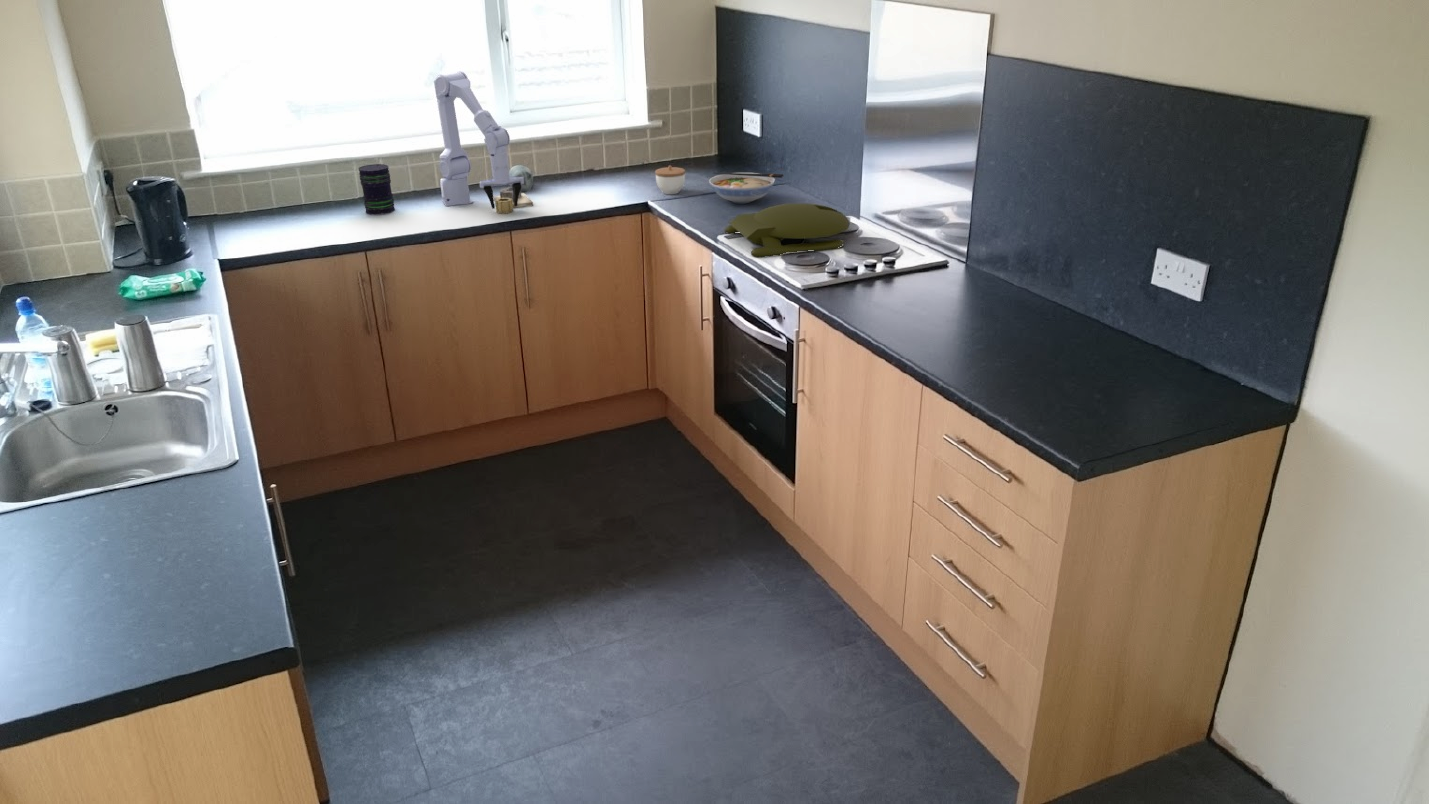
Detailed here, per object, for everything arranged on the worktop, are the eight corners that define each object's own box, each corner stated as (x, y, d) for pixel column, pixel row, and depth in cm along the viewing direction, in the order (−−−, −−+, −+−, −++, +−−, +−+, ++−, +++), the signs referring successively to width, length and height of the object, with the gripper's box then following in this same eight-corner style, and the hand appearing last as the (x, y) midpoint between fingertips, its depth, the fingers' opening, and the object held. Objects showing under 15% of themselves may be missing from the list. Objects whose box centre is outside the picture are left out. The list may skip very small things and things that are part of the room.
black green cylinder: (386, 215, 348) (379, 171, 341) (360, 214, 350) (352, 170, 343) (400, 207, 357) (393, 164, 350) (374, 206, 359) (367, 163, 352)
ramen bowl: (697, 207, 350) (696, 183, 347) (718, 191, 370) (718, 168, 366) (767, 212, 343) (767, 187, 339) (785, 195, 362) (786, 172, 359)
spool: (539, 183, 372) (524, 158, 369) (517, 197, 371) (501, 173, 369) (538, 183, 385) (523, 160, 382) (517, 197, 384) (502, 173, 382)
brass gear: (498, 214, 346) (496, 202, 345) (495, 210, 351) (493, 198, 349) (514, 212, 348) (513, 200, 346) (511, 208, 353) (510, 196, 351)
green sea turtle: (754, 260, 297) (753, 227, 293) (722, 232, 324) (721, 201, 320) (865, 247, 306) (866, 215, 302) (825, 221, 333) (826, 191, 328)
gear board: (501, 209, 352) (499, 196, 350) (493, 199, 364) (492, 187, 362) (533, 205, 356) (531, 192, 354) (524, 196, 368) (523, 183, 366)
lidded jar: (675, 197, 363) (674, 170, 359) (650, 193, 368) (648, 167, 364) (691, 190, 371) (690, 164, 367) (666, 187, 376) (665, 161, 372)
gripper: (480, 171, 337) (485, 211, 343) (524, 166, 342) (528, 206, 348) (476, 166, 343) (481, 206, 349) (519, 162, 348) (523, 202, 354)
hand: (504, 206), depth 349 cm, fingers open, 7 cm apart
